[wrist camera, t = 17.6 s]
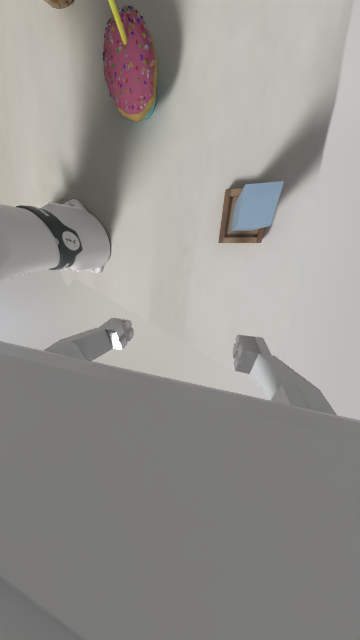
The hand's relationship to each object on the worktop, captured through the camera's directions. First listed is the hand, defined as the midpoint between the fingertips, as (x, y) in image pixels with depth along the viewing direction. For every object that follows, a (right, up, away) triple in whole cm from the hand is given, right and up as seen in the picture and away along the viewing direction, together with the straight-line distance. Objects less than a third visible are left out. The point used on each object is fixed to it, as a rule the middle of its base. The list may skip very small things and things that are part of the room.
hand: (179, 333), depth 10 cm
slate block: (+14, +23, +18) cm, 32 cm away
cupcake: (-6, +42, +14) cm, 44 cm away
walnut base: (+14, +24, +19) cm, 33 cm away
